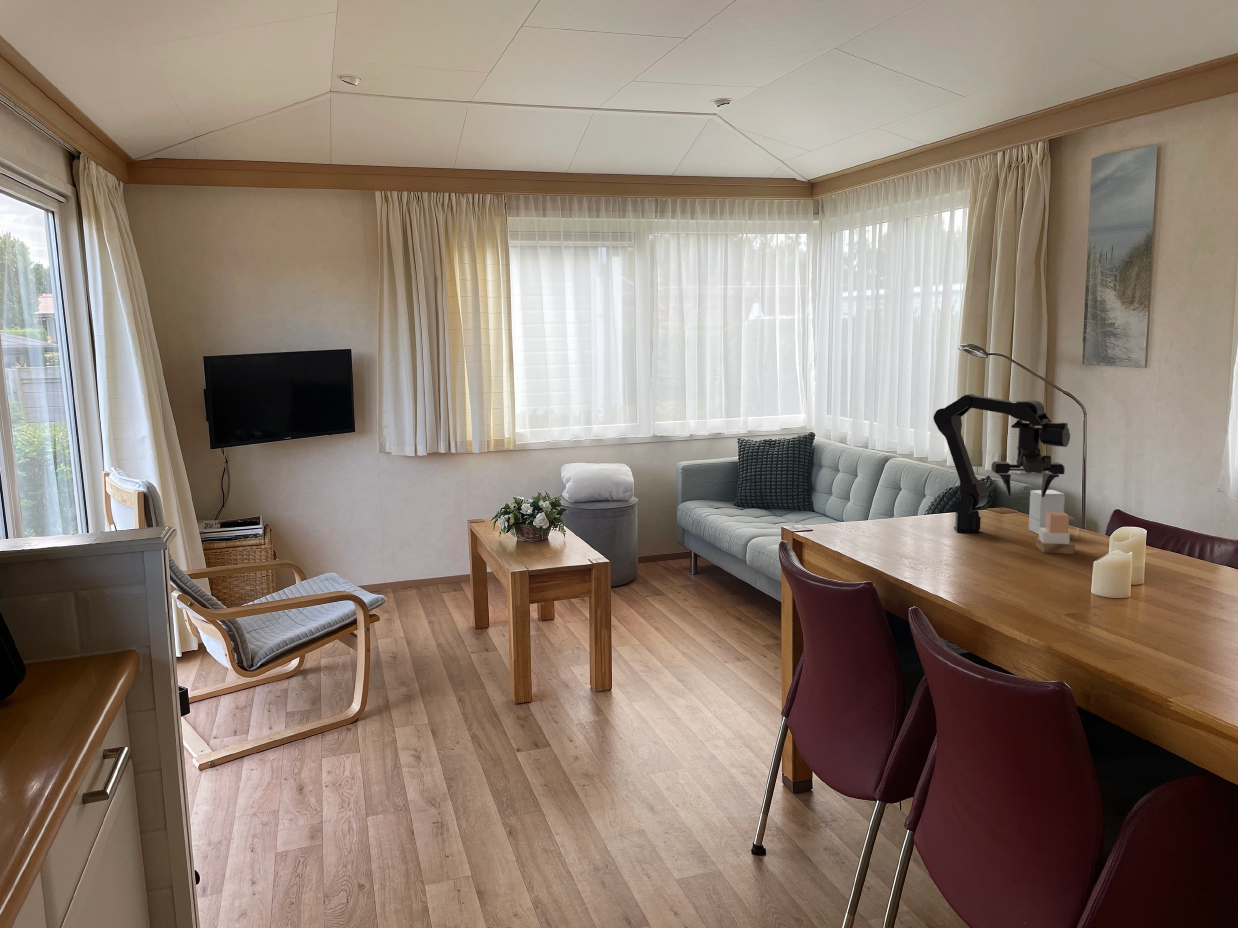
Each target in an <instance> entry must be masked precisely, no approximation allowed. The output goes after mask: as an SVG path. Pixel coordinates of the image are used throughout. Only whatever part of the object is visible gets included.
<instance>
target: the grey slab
mask: <svg viewBox="0 0 1238 928" xmlns="http://www.w3.org/2000/svg"><path fill="white" fill-rule="evenodd" d="M1038 538H1039V539H1040V540H1041V541H1042V542H1043V543H1051V544H1069V541H1070V532H1068V533H1050V532H1048V531H1047V530H1046V529H1045V528H1039V534H1038Z"/></svg>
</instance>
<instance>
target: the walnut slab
mask: <svg viewBox="0 0 1238 928" xmlns="http://www.w3.org/2000/svg"><path fill="white" fill-rule="evenodd" d="M1035 540H1036V541H1035V547H1036V546H1037V547H1038V548H1037V547H1036V548H1037V549H1038V550H1039V551H1041V552H1042V553H1043V552H1045V553H1044V554H1062V553H1063V554H1065V555H1066V554H1067V555H1069V554H1071V555H1075V554H1076V553H1075V552H1076V544H1074V543H1073V542H1072V541H1071V540H1069V544H1051V543H1043V542H1042V541H1041V540H1040V539H1039V536H1038V537H1037V536H1036V537H1035Z"/></svg>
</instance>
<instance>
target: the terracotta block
mask: <svg viewBox="0 0 1238 928" xmlns="http://www.w3.org/2000/svg"><path fill="white" fill-rule="evenodd" d="M1069 519H1070V516H1069V514H1067V513H1066V512H1065V511H1064V512H1046V528H1045V529H1046V530H1047V531H1048V532H1050V533H1069Z"/></svg>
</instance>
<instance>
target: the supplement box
mask: <svg viewBox="0 0 1238 928" xmlns="http://www.w3.org/2000/svg"><path fill="white" fill-rule="evenodd" d="M1029 491H1030V494H1029V516H1028V531H1031V532H1033V533H1034V534H1037V535H1039V528H1046V512H1065V498H1066V497H1065V495H1066V494H1065V493H1064V492H1060V491H1058V490H1054V489H1047V491H1046V494H1045V496H1044V497H1041V489H1039V490H1037V489H1035V490H1032V489H1031V490H1029Z"/></svg>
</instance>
